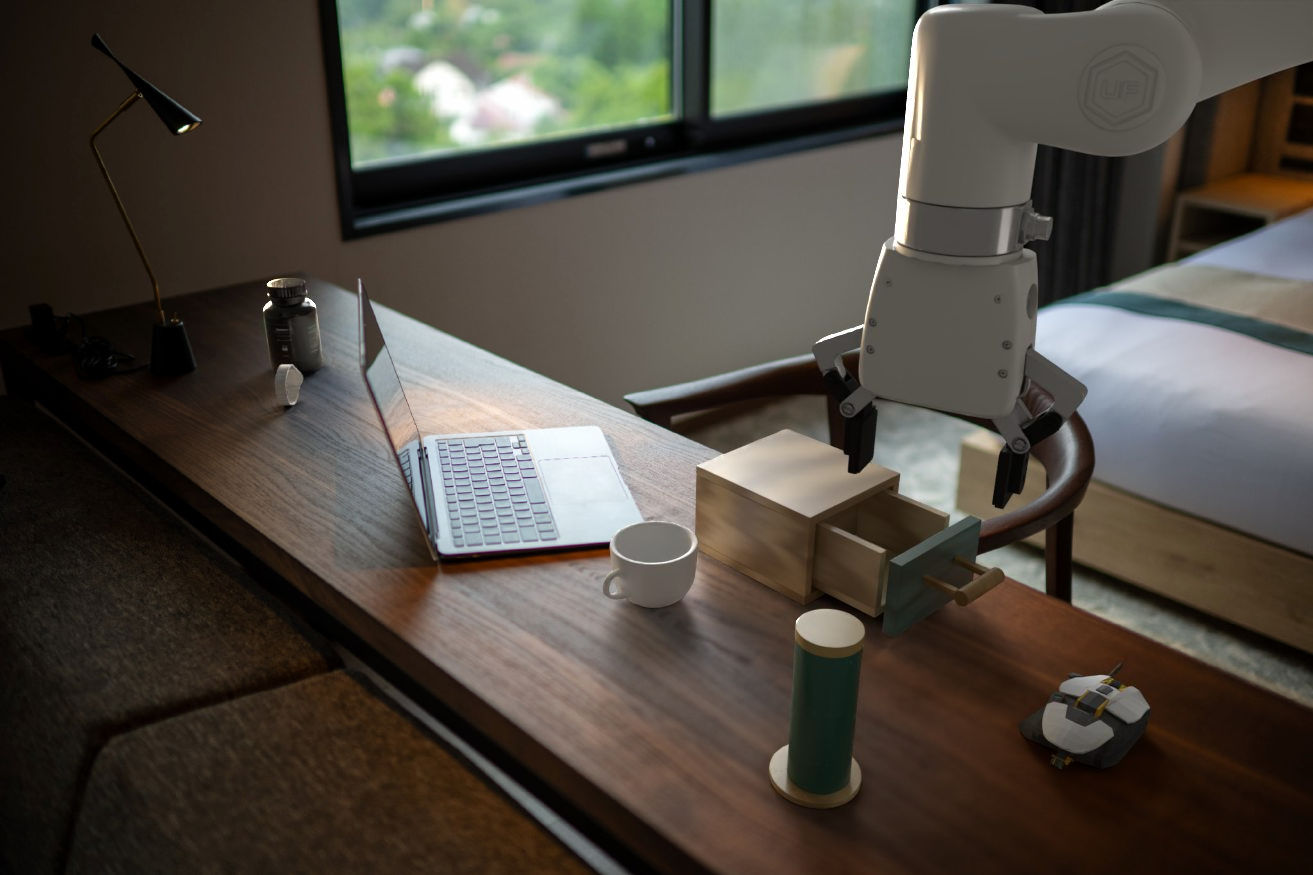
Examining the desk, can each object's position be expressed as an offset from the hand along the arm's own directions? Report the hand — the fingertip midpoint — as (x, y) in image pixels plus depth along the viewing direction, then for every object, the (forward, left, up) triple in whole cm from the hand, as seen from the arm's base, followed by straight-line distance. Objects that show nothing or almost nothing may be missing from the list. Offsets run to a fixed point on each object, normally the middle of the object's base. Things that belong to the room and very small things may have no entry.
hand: (929, 482), depth 73 cm
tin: (+7, +4, -20) cm, 22 cm away
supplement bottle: (+56, -84, -21) cm, 103 cm away
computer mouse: (-14, +1, -21) cm, 25 cm away
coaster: (+7, +4, -21) cm, 22 cm away
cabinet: (+1, -27, -21) cm, 34 cm away
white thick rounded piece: (+55, -71, -21) cm, 92 cm away
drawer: (-5, -17, -20) cm, 27 cm away
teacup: (+16, -20, -21) cm, 33 cm away
